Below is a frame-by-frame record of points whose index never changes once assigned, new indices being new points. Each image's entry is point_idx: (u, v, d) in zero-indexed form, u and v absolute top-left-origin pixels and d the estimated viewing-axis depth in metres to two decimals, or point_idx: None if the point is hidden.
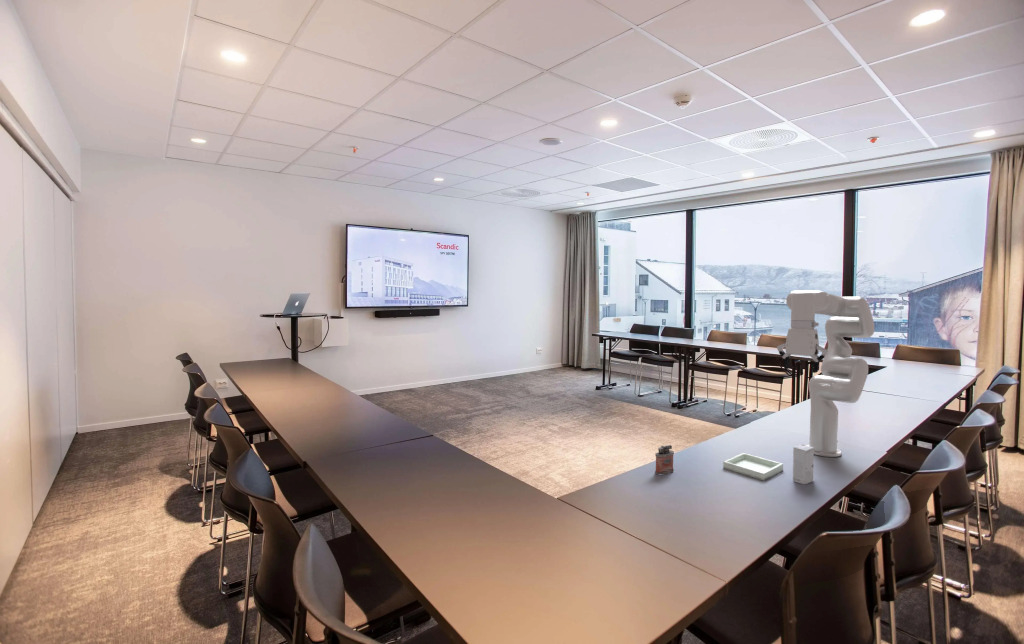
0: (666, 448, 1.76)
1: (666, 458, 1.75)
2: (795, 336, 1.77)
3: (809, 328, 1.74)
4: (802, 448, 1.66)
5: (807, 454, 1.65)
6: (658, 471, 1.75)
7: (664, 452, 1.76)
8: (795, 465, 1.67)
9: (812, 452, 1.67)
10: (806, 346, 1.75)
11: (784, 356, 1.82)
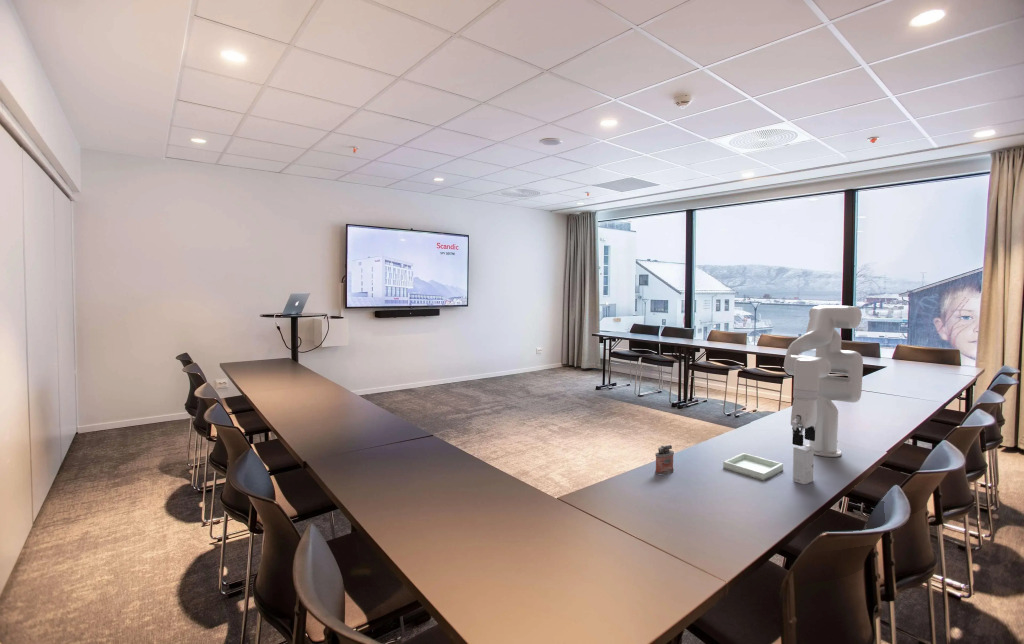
0: (666, 448, 1.76)
1: (666, 458, 1.75)
2: (811, 408, 1.63)
3: None
4: (802, 448, 1.66)
5: (807, 454, 1.65)
6: (658, 471, 1.75)
7: (664, 452, 1.76)
8: (795, 465, 1.67)
9: (812, 452, 1.67)
10: (815, 416, 1.66)
11: (801, 432, 1.62)
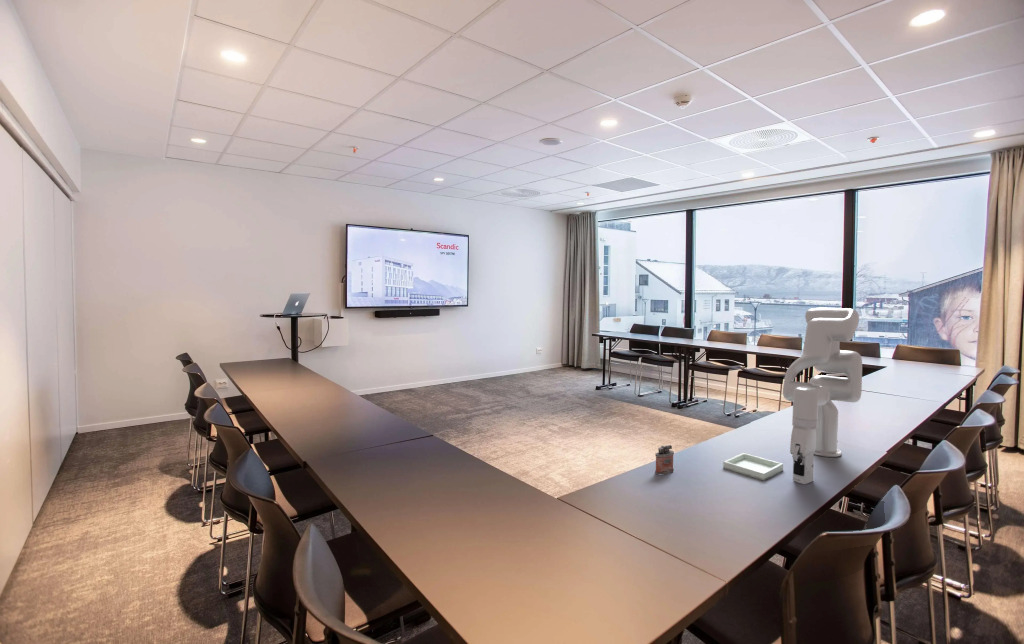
0: (666, 448, 1.76)
1: (666, 458, 1.75)
2: (810, 437, 1.64)
3: None
4: None
5: None
6: (658, 471, 1.75)
7: (664, 452, 1.76)
8: None
9: None
10: (814, 443, 1.67)
11: (802, 462, 1.64)
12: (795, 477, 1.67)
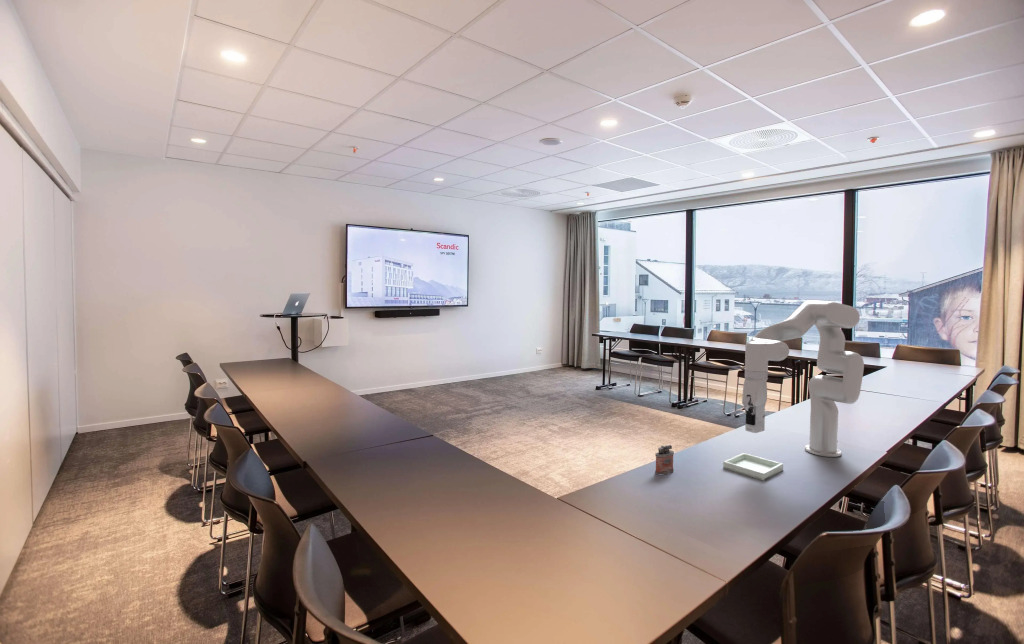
0: (666, 448, 1.76)
1: (666, 458, 1.75)
2: (760, 388, 1.74)
3: None
4: None
5: None
6: (658, 471, 1.75)
7: (664, 452, 1.76)
8: None
9: (763, 403, 1.77)
10: (765, 395, 1.77)
11: (753, 412, 1.74)
12: (747, 427, 1.77)
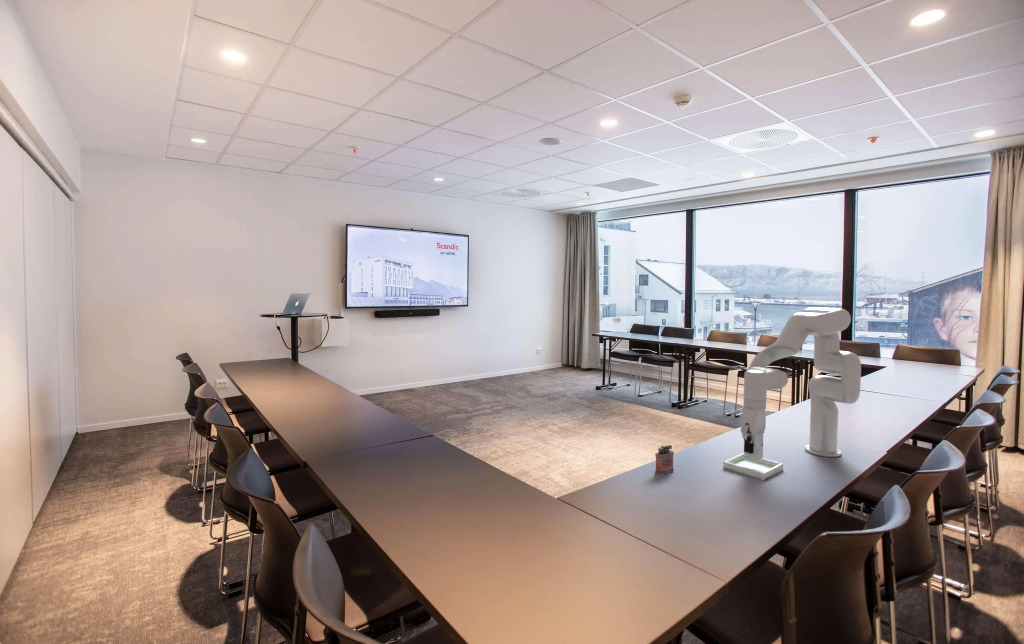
0: (666, 448, 1.76)
1: (666, 458, 1.75)
2: (759, 416, 1.75)
3: None
4: None
5: None
6: (658, 471, 1.75)
7: (664, 452, 1.76)
8: None
9: None
10: (763, 423, 1.78)
11: (752, 441, 1.75)
12: (746, 455, 1.78)
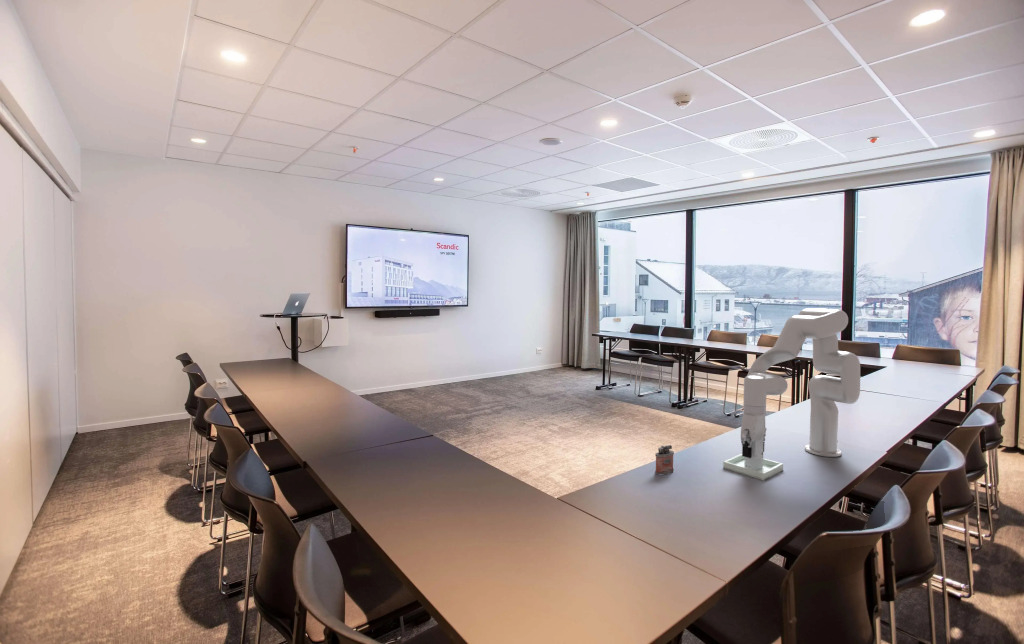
0: (666, 448, 1.76)
1: (666, 458, 1.75)
2: (759, 422, 1.75)
3: None
4: None
5: (757, 442, 1.76)
6: (658, 471, 1.75)
7: (664, 452, 1.76)
8: None
9: (762, 440, 1.78)
10: (763, 429, 1.78)
11: (750, 445, 1.74)
12: (746, 464, 1.78)
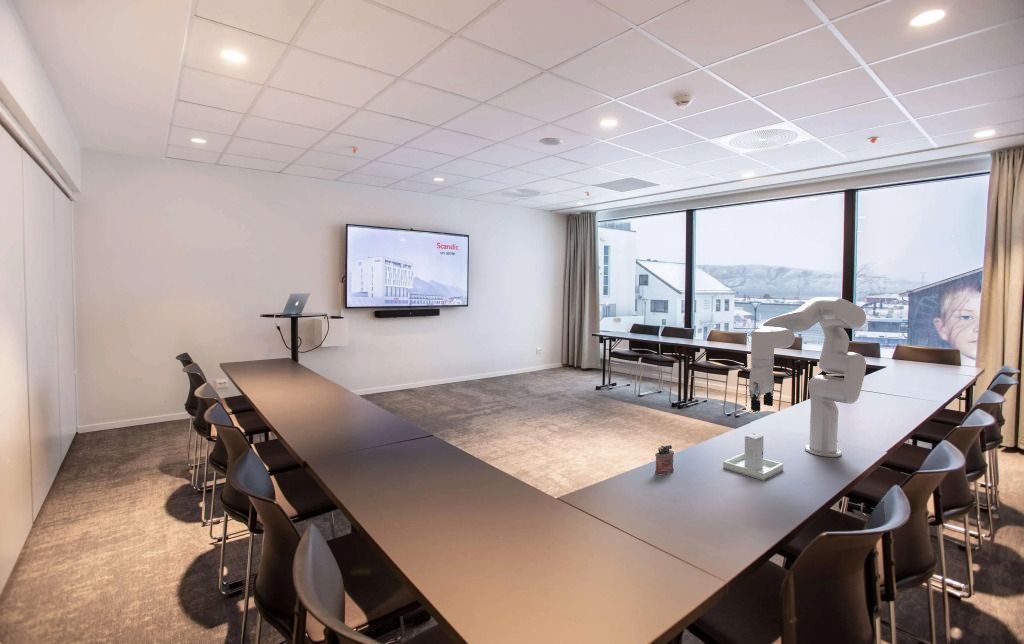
0: (666, 448, 1.76)
1: (666, 458, 1.75)
2: (767, 375, 1.75)
3: None
4: (753, 436, 1.77)
5: (757, 442, 1.76)
6: (658, 471, 1.75)
7: (664, 452, 1.76)
8: (746, 453, 1.78)
9: (762, 440, 1.78)
10: (771, 382, 1.78)
11: (758, 398, 1.74)
12: (746, 464, 1.78)
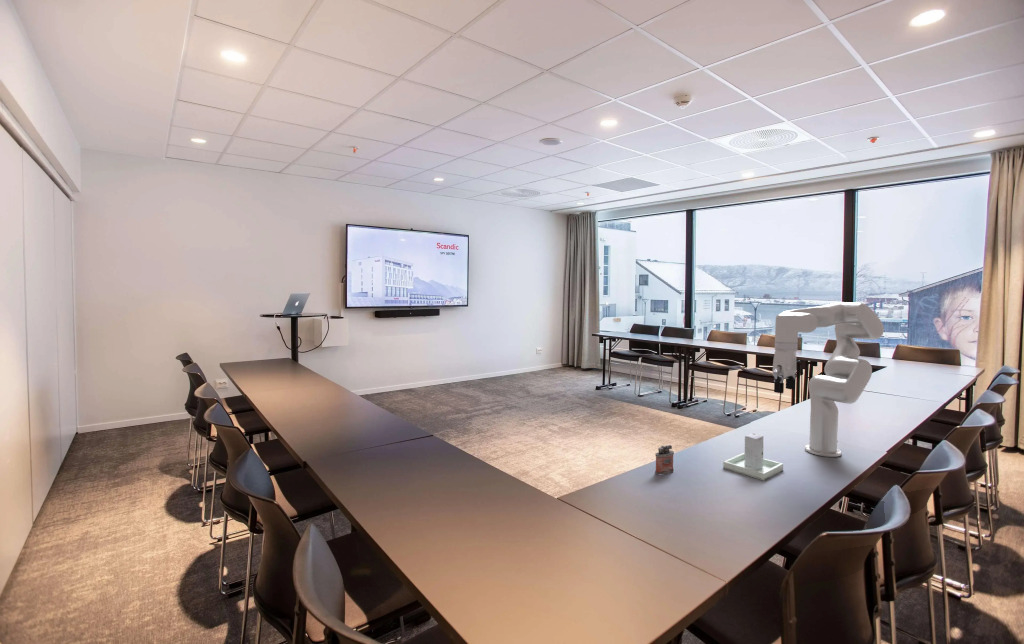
0: (666, 448, 1.76)
1: (666, 458, 1.75)
2: (791, 358, 1.79)
3: None
4: (753, 436, 1.77)
5: (757, 442, 1.76)
6: (658, 471, 1.75)
7: (664, 452, 1.76)
8: (746, 453, 1.78)
9: (762, 440, 1.78)
10: (794, 366, 1.82)
11: (782, 380, 1.78)
12: (746, 464, 1.78)
